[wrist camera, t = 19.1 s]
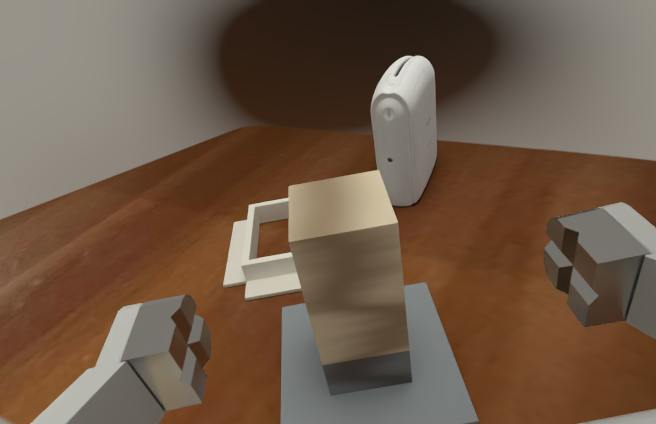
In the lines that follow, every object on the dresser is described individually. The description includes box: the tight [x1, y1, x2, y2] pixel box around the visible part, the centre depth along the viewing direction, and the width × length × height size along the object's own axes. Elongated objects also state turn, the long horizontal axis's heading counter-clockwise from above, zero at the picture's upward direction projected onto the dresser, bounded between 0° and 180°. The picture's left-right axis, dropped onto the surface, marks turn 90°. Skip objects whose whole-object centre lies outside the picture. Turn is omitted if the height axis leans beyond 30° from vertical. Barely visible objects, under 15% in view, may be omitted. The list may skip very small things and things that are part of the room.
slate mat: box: [281, 282, 479, 424], centre depth 29 cm, size 11×11×1 cm
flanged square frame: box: [223, 198, 302, 301], centre depth 40 cm, size 13×13×2 cm
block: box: [289, 170, 412, 396], centre depth 25 cm, size 5×5×12 cm
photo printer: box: [371, 56, 437, 206], centre depth 43 cm, size 10×4×12 cm, turn 157°
